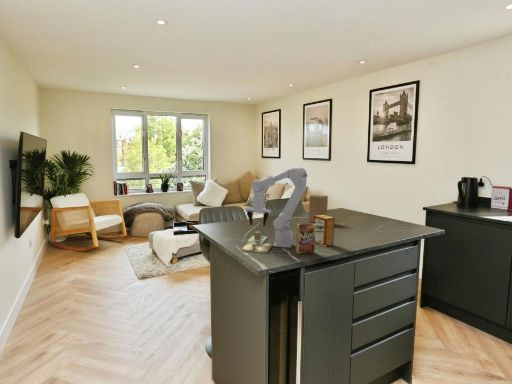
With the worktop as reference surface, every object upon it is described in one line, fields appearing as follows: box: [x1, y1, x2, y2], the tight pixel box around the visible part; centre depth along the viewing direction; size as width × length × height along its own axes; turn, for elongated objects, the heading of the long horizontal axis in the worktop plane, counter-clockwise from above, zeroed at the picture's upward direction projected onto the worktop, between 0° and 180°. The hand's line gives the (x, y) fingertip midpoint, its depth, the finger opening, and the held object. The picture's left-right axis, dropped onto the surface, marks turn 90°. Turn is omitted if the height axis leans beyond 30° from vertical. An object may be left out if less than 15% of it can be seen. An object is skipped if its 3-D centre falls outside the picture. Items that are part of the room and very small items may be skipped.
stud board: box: [240, 240, 273, 254], centre depth 173 cm, size 13×13×3 cm
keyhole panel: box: [246, 231, 268, 244], centre depth 189 cm, size 8×13×5 cm, turn 166°
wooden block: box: [308, 194, 329, 223], centre depth 244 cm, size 10×10×20 cm
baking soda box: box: [314, 214, 335, 246], centre depth 185 cm, size 10×6×16 cm
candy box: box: [295, 222, 316, 255], centre depth 166 cm, size 9×4×15 cm, turn 93°
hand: (257, 225), depth 188 cm, fingers open, 7 cm apart
